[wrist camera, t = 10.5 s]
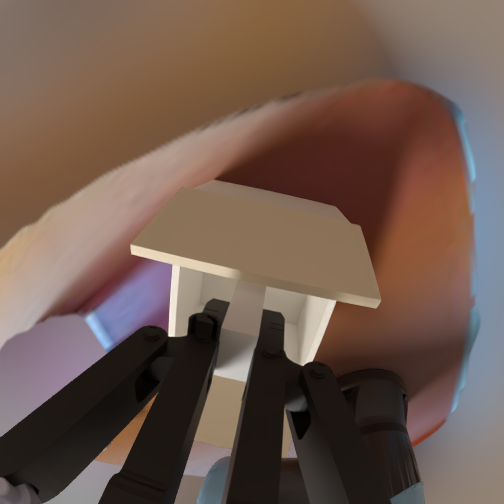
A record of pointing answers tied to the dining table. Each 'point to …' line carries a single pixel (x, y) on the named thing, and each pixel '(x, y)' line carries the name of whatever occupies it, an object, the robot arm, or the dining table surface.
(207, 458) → the dining table surface
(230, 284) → the carton
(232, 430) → the far flap
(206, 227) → the near flap
